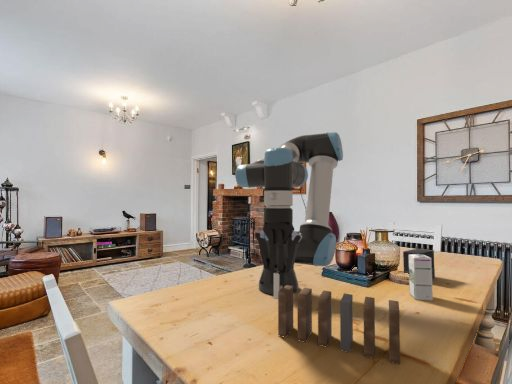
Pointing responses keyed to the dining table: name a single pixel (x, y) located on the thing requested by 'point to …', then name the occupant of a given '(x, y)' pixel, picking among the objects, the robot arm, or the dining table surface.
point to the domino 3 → (324, 318)
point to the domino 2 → (304, 314)
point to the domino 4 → (346, 322)
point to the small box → (418, 251)
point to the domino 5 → (369, 327)
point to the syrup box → (420, 277)
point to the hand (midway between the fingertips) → (278, 297)
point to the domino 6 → (394, 332)
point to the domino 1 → (285, 310)
